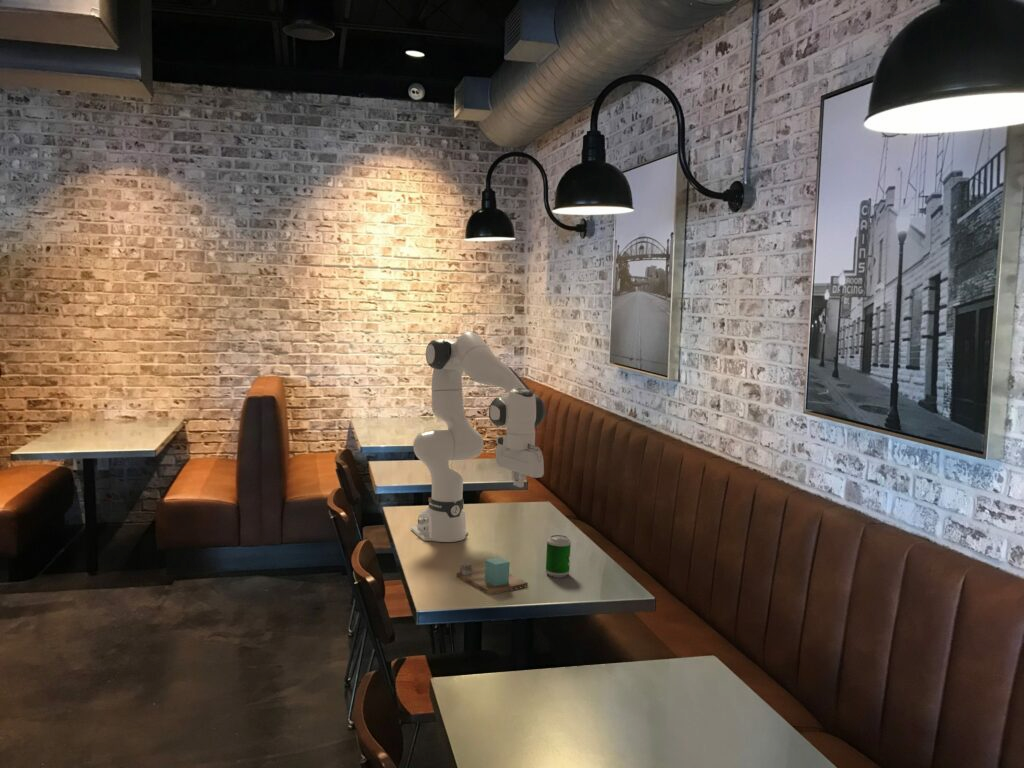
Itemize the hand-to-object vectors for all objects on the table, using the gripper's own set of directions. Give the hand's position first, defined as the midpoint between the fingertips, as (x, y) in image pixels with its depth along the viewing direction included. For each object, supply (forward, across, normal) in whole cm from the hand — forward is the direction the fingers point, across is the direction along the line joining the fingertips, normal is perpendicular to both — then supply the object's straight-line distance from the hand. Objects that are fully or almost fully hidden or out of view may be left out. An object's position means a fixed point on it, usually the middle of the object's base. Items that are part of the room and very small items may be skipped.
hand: (518, 486), depth 248 cm
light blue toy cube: (+28, -3, +9) cm, 29 cm away
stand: (+29, +1, +8) cm, 30 cm away
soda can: (+29, -4, -14) cm, 33 cm away
